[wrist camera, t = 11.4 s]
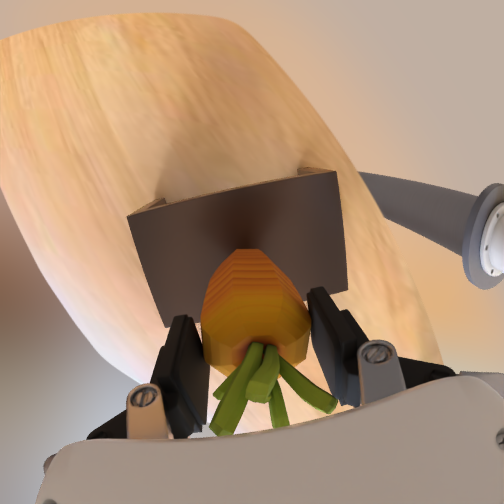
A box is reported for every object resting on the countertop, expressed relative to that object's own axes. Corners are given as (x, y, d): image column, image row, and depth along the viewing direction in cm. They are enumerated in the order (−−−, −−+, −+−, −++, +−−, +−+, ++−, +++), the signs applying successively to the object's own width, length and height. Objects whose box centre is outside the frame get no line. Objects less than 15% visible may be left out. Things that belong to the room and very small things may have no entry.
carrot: (288, 239, 21) (383, 388, 7) (261, 294, 22) (298, 469, 8) (226, 213, 20) (216, 351, 6) (202, 273, 21) (167, 449, 7)
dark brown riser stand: (308, 167, 27) (336, 170, 19) (321, 258, 30) (348, 290, 23) (153, 200, 27) (126, 216, 19) (179, 288, 30) (165, 328, 23)
